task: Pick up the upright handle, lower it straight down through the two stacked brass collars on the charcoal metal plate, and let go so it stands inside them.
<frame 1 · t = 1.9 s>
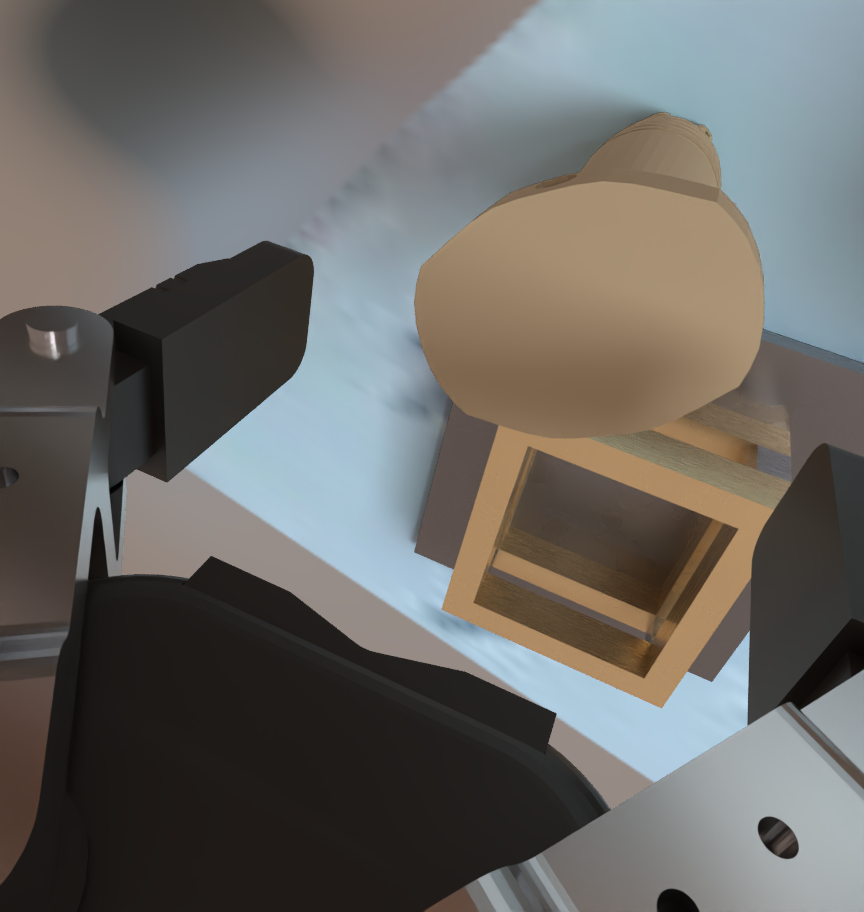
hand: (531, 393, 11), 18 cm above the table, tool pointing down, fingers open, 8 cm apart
collar stand: (618, 477, 32), on the table
handle: (667, 160, 25), on the table
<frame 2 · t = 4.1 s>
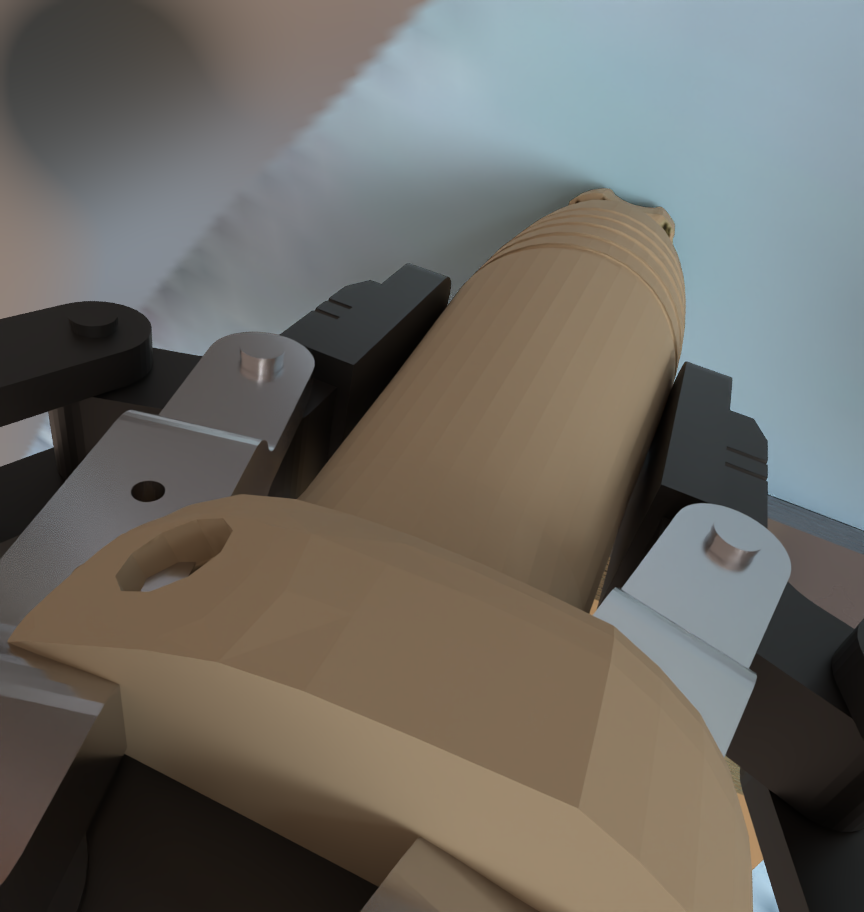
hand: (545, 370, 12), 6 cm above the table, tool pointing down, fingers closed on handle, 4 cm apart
collar stand: (563, 653, 24), on the table
handle: (612, 253, 17), on the table, touching gripper
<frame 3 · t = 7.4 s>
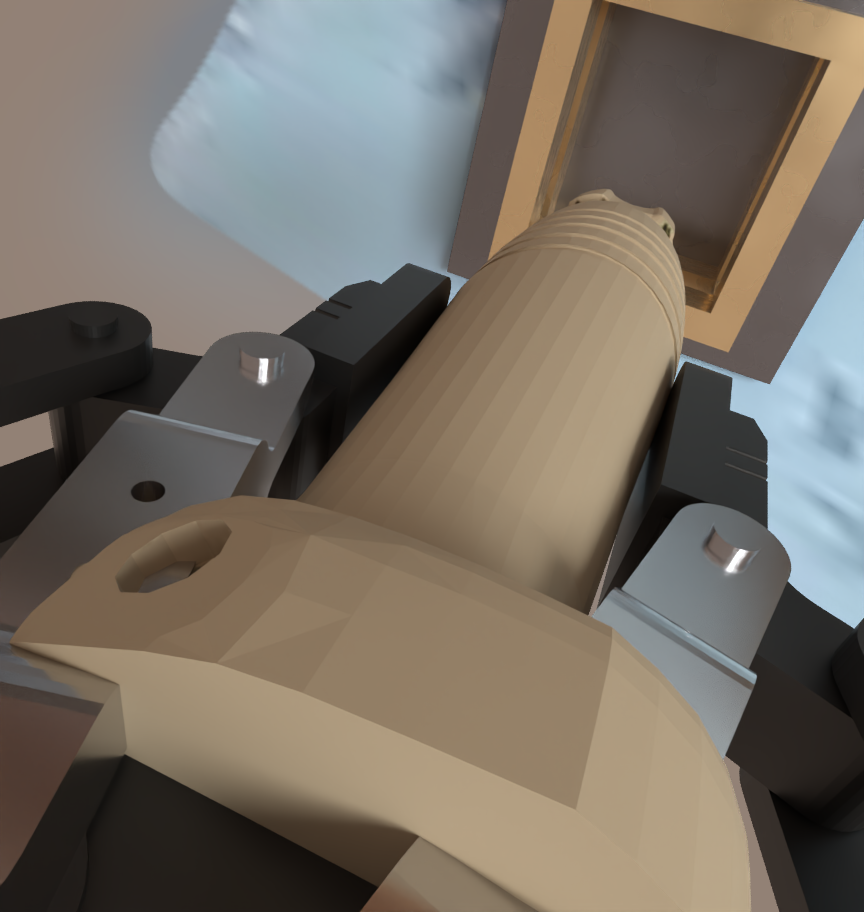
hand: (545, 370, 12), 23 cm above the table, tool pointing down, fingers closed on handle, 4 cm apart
collar stand: (674, 135, 30), on the table
handle: (612, 254, 17), point 17 cm above the table, touching gripper
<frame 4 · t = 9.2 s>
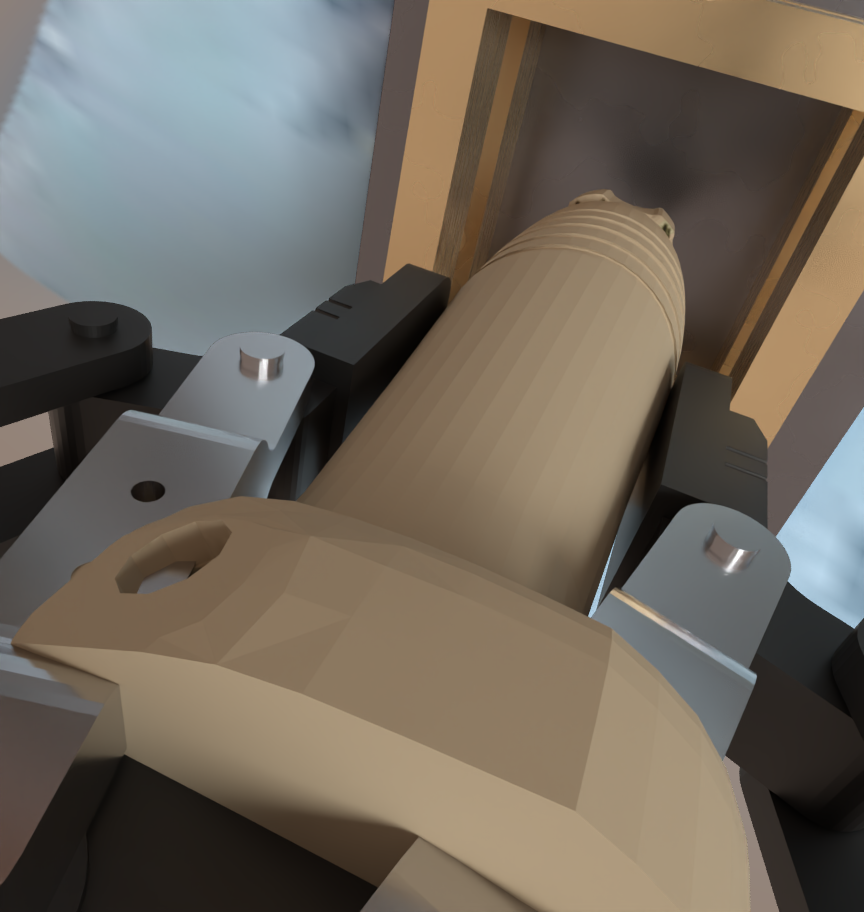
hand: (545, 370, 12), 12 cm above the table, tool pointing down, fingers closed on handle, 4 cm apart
collar stand: (639, 201, 21), on the table
handle: (612, 254, 17), point 5 cm above the table, touching gripper
when the fingers open (8 cm above the table, at t = 10.8 s): handle stays where it is, resting on collar stand.
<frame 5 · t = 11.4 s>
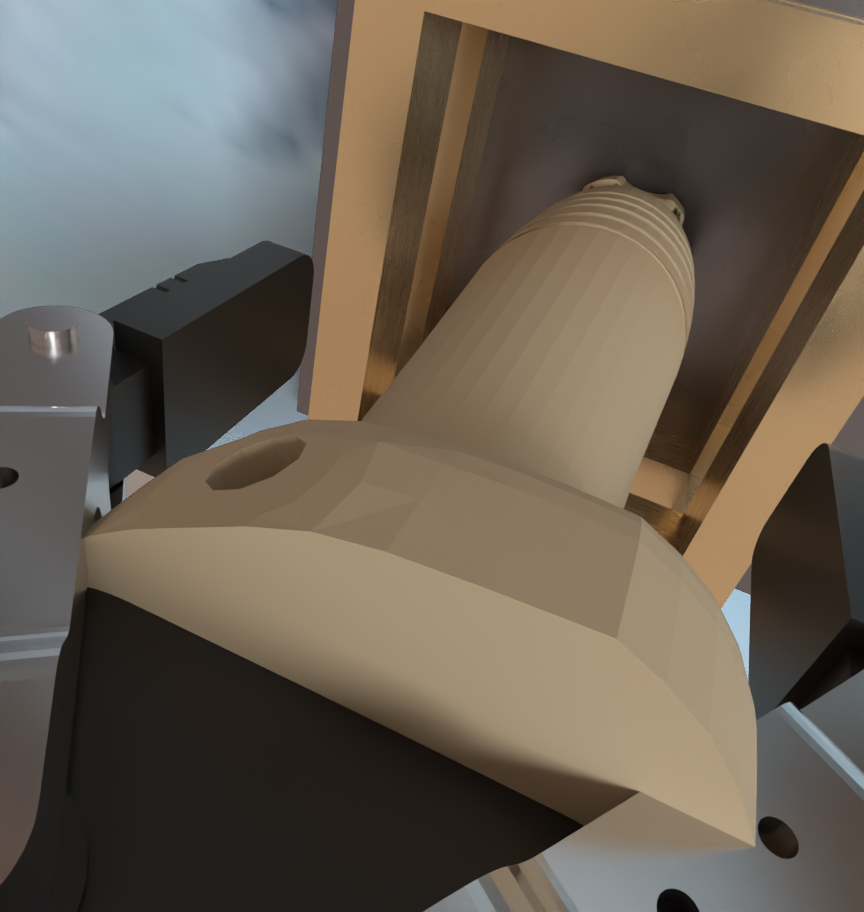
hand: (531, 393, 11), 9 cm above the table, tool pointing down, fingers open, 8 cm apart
collar stand: (622, 232, 18), on the table
handle: (623, 239, 18), point 1 cm above the table, touching collar stand
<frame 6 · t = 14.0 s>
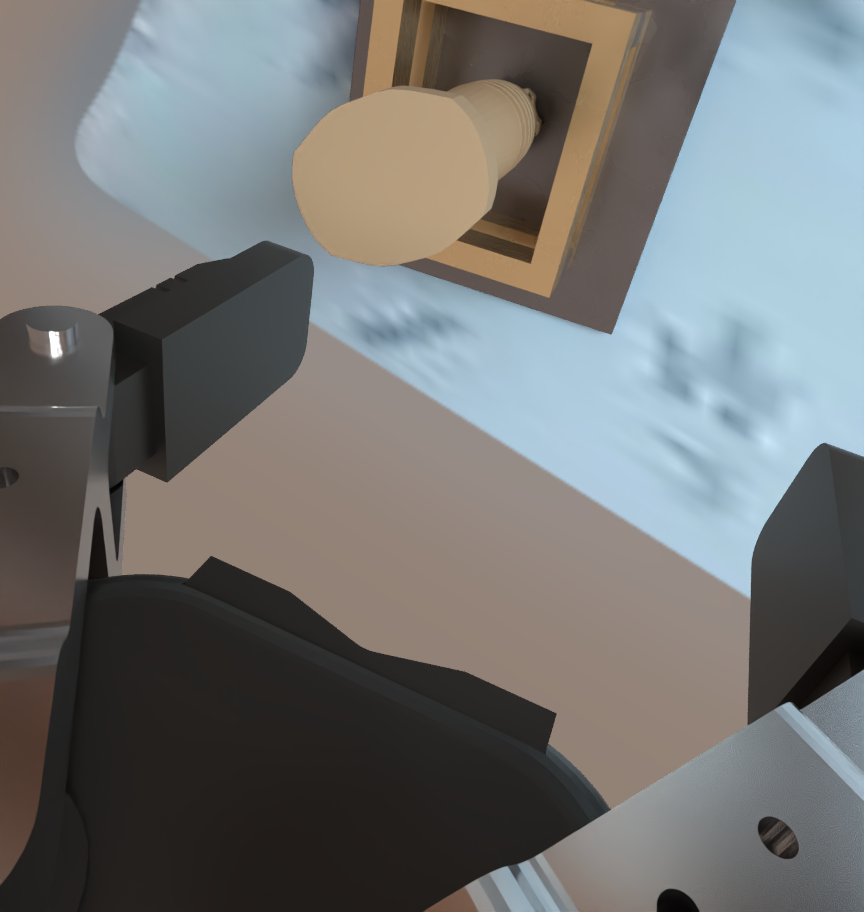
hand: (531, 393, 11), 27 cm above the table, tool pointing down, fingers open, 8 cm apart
collar stand: (512, 116, 35), on the table
handle: (510, 117, 34), point 1 cm above the table, touching collar stand
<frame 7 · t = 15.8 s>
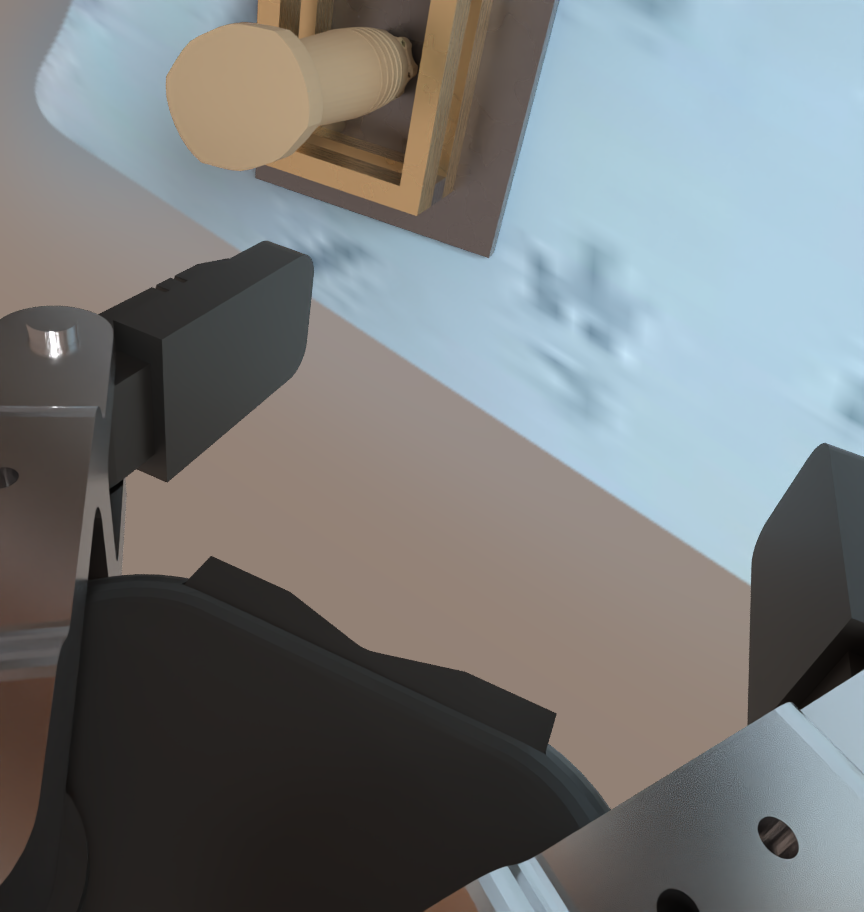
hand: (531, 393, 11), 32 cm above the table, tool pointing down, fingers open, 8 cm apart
collar stand: (397, 63, 40), on the table
handle: (393, 63, 40), point 1 cm above the table, touching collar stand
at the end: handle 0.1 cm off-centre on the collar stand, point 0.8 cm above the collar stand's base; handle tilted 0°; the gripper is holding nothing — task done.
